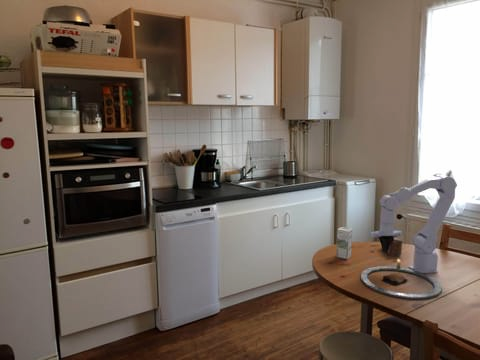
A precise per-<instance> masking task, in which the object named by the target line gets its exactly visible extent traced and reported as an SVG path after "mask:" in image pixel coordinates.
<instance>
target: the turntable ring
mask: <svg viewBox="0 0 480 360" xmlns="http://www.w3.org/2000/svg"><path fill="white" fill-rule="evenodd" d="M401 263H402V262H401V258H396V265H395V266H393V265H392V266H391V265H386V266H385V265H384V266H382V265H378V266H374V267H368V268H366V269H364V270H363V271H361V273H360V280H361V281H362V283H363V284H364V285H365V286H366V287H368V288H370V289H372V290H374V291H375V292H378V293H381V294H383V295H387V296H389V297H393V298H401V299H408V300H427V299H432V298H436V297H438V296H439V295H440V294H441V293H442V291H443V288H442V284H441V283H440V282H439V281H438V280H436V279H435V278H434V277H432V276H431V275H428V274H427V273H422V272H419V271H415V270H413V269H411V268H407V267H401V265H402V264H401ZM377 271H378V272H379V271H396V272H397V271H398V272H404V273H409V274H413V275H416V276H419V277H421V278H422V279H425V280H427V281H428V282H429V283H431V284H432V286H433V289H432V290H431V291H428V292H425V293H403V292H396V291H392V290H389V289H386V288H383V287H380V286H378V285H376V284H374V283H372V281H370V280H369V278H368V275H370V274H372V273H374V272H377Z"/></svg>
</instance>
